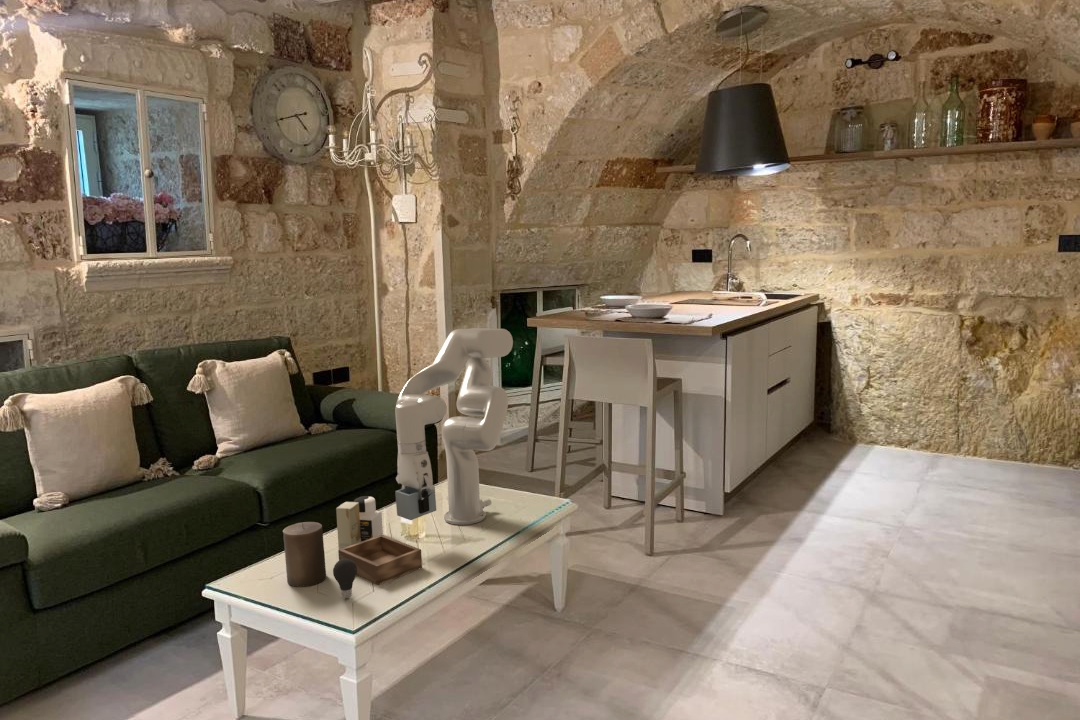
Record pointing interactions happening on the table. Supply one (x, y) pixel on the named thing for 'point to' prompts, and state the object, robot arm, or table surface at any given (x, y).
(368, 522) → the medicine bottle
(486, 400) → the robot arm
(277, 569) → the table surface
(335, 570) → the light bulb
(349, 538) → the skincare box
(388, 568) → the walnut crate
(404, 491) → the grey crate
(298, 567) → the pillar candle
